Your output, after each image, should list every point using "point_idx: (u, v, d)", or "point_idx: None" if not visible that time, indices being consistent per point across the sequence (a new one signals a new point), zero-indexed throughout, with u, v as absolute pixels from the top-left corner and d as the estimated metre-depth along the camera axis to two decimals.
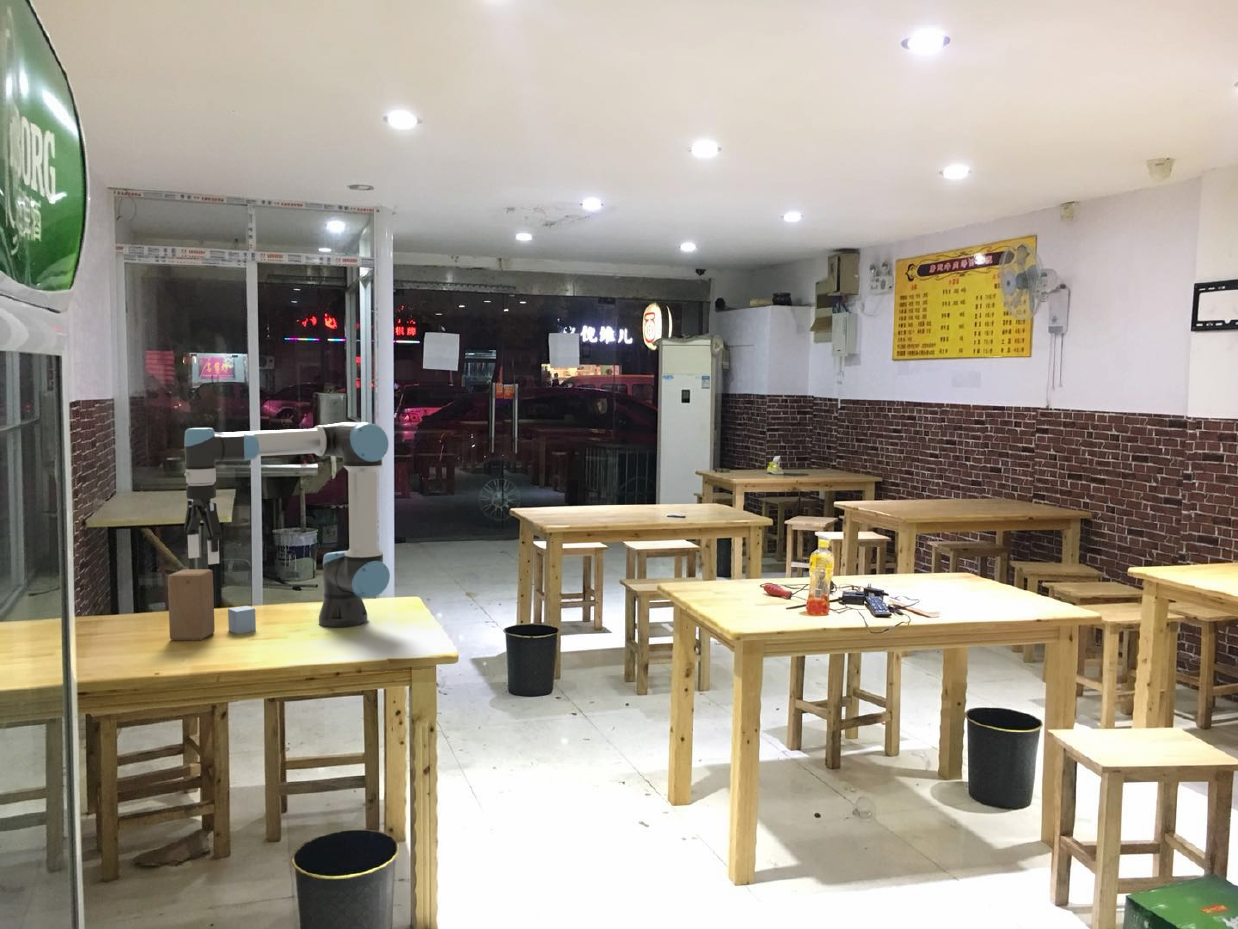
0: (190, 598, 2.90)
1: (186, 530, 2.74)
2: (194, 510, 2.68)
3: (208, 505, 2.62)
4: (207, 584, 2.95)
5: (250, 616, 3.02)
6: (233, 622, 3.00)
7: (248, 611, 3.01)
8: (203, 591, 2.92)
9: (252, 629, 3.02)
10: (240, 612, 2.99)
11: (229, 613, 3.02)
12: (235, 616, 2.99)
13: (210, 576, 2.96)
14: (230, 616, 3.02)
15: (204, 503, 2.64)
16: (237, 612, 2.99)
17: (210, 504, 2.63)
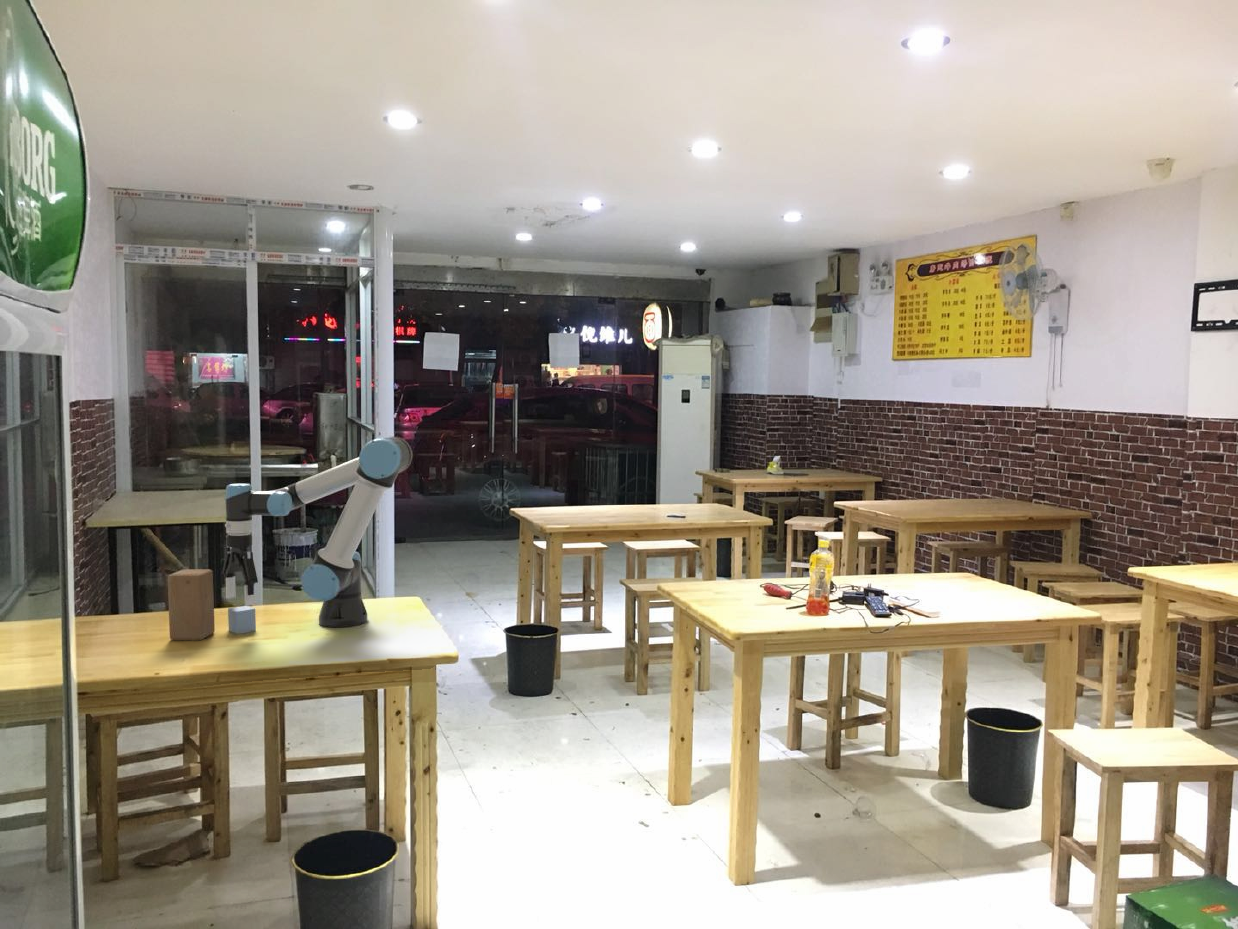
0: (190, 598, 2.90)
1: (224, 573, 3.08)
2: (232, 557, 3.01)
3: (245, 553, 2.96)
4: (207, 584, 2.95)
5: (250, 616, 3.02)
6: (233, 622, 3.00)
7: (248, 611, 3.01)
8: (203, 591, 2.92)
9: (252, 629, 3.02)
10: (240, 612, 2.99)
11: (229, 613, 3.02)
12: (235, 616, 2.99)
13: (210, 576, 2.96)
14: (230, 616, 3.02)
15: (242, 551, 2.98)
16: (237, 612, 2.99)
17: (247, 552, 2.96)
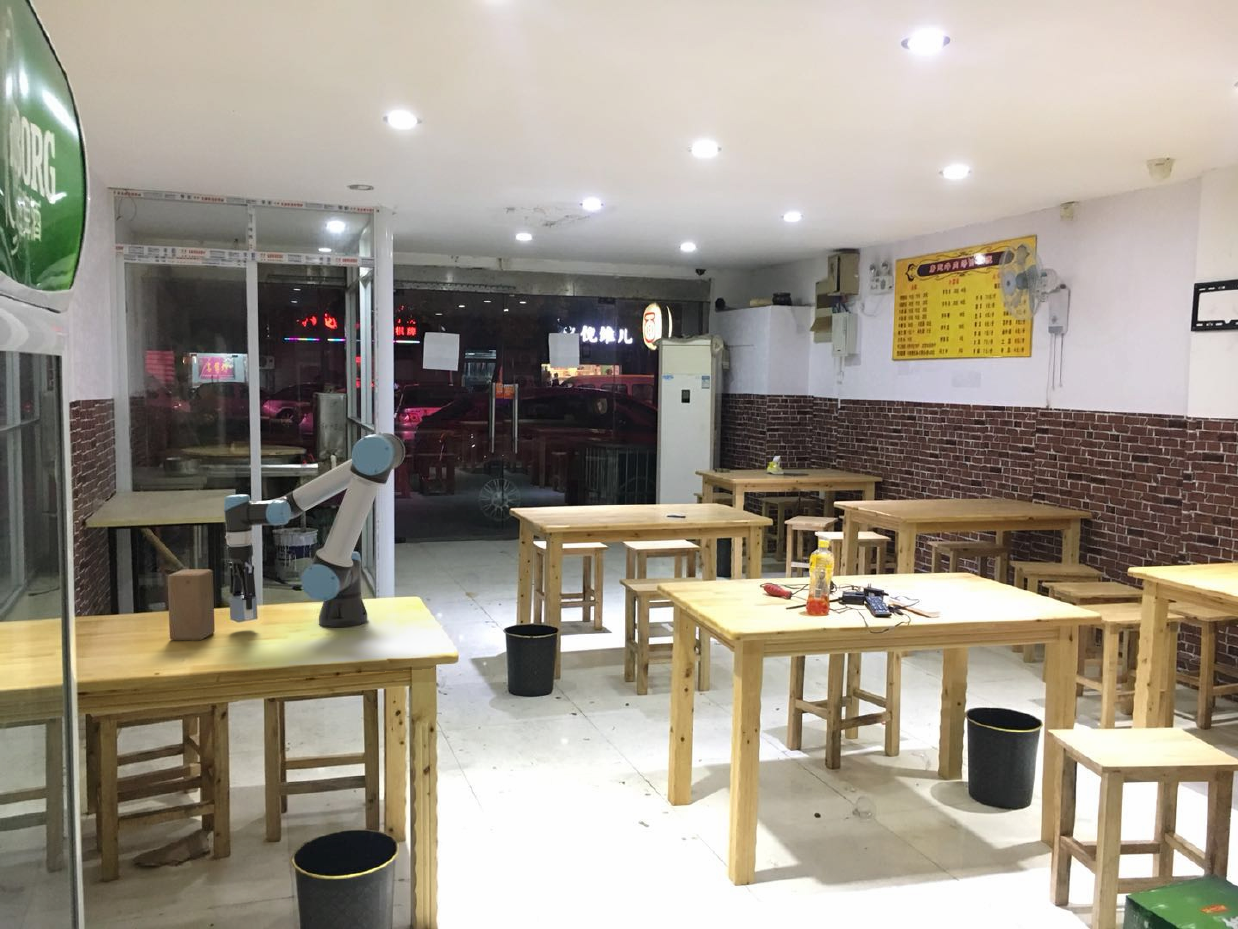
0: (190, 598, 2.90)
1: (232, 592, 3.06)
2: (234, 568, 3.01)
3: (247, 568, 2.96)
4: (207, 584, 2.95)
5: None
6: (235, 610, 3.00)
7: None
8: (203, 591, 2.92)
9: (254, 617, 3.02)
10: (241, 600, 2.99)
11: (230, 602, 3.02)
12: (237, 605, 2.99)
13: (210, 576, 2.96)
14: (231, 605, 3.01)
15: (243, 563, 2.98)
16: (238, 600, 2.98)
17: (249, 567, 2.97)
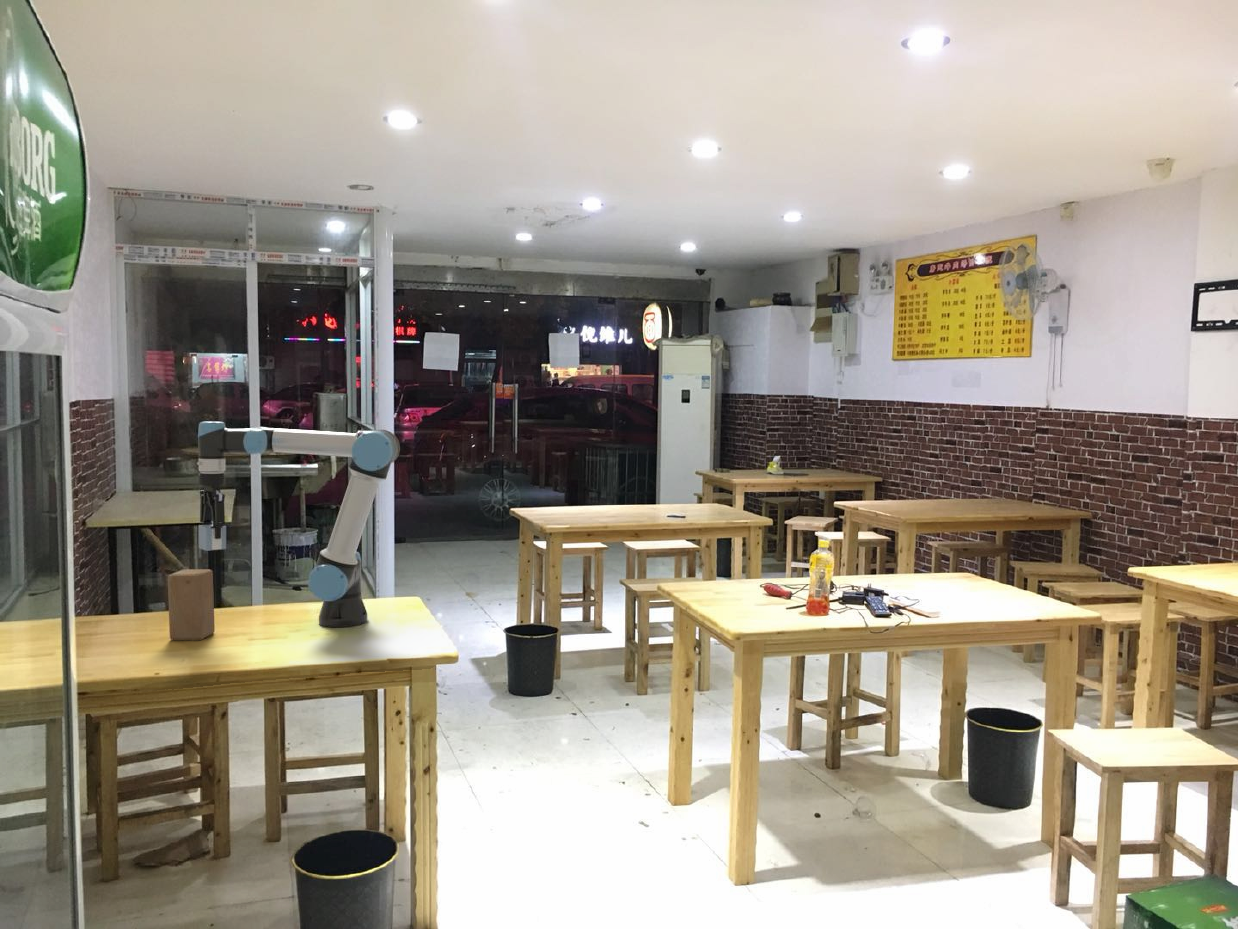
0: (190, 598, 2.90)
1: (202, 520, 3.00)
2: (205, 495, 2.96)
3: (217, 496, 2.91)
4: (207, 584, 2.95)
5: None
6: (203, 538, 2.95)
7: None
8: (203, 591, 2.92)
9: (222, 547, 2.97)
10: (210, 528, 2.94)
11: (199, 530, 2.96)
12: (205, 532, 2.93)
13: (210, 576, 2.96)
14: (200, 533, 2.96)
15: (214, 491, 2.93)
16: (207, 528, 2.93)
17: (219, 495, 2.91)
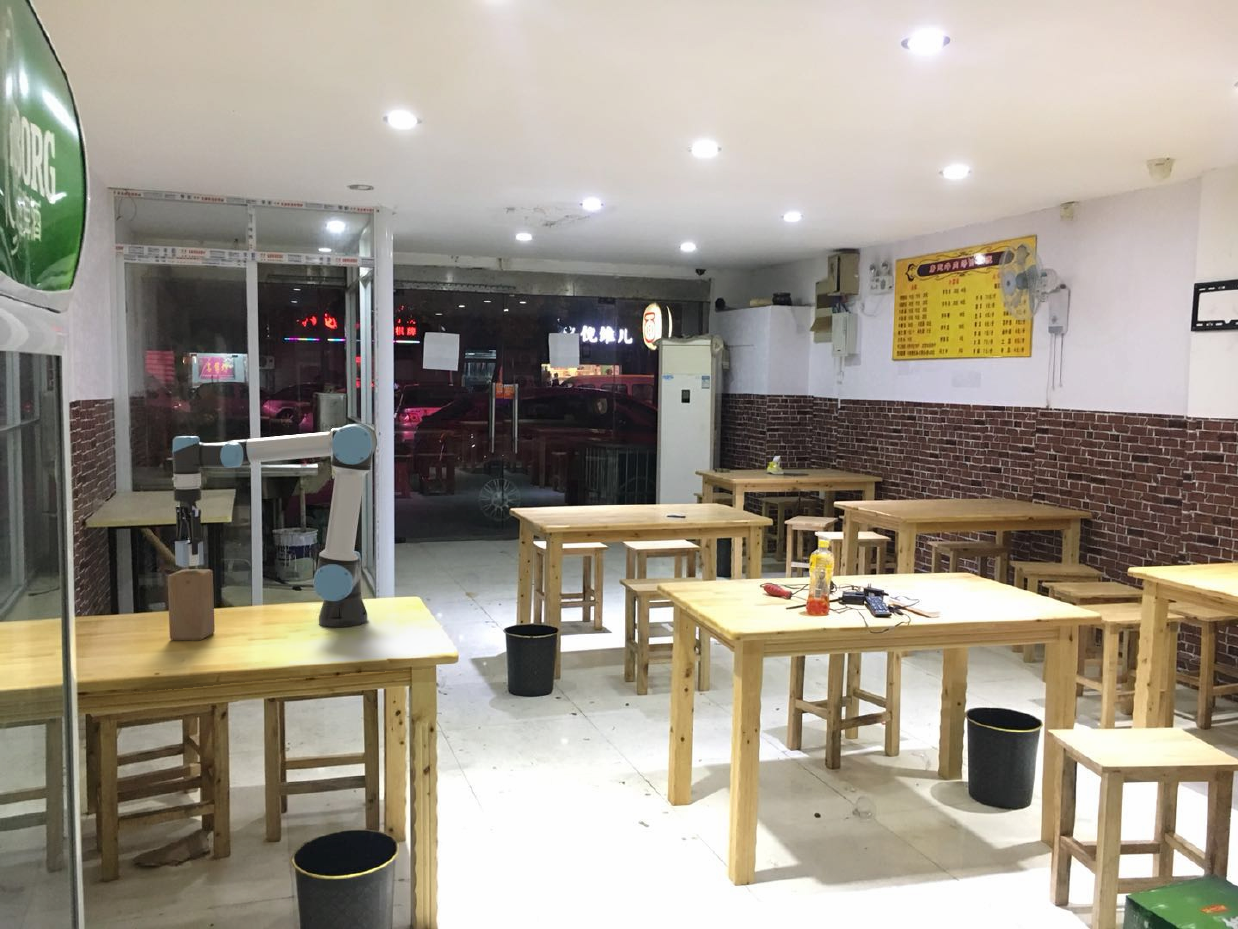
0: (190, 598, 2.90)
1: (178, 536, 2.97)
2: (181, 511, 2.92)
3: (193, 512, 2.87)
4: (207, 584, 2.95)
5: None
6: (180, 555, 2.91)
7: None
8: (203, 591, 2.92)
9: (200, 563, 2.93)
10: (187, 544, 2.90)
11: (176, 546, 2.93)
12: (182, 549, 2.89)
13: (210, 576, 2.96)
14: (177, 549, 2.92)
15: (190, 506, 2.89)
16: (184, 544, 2.89)
17: (195, 511, 2.88)
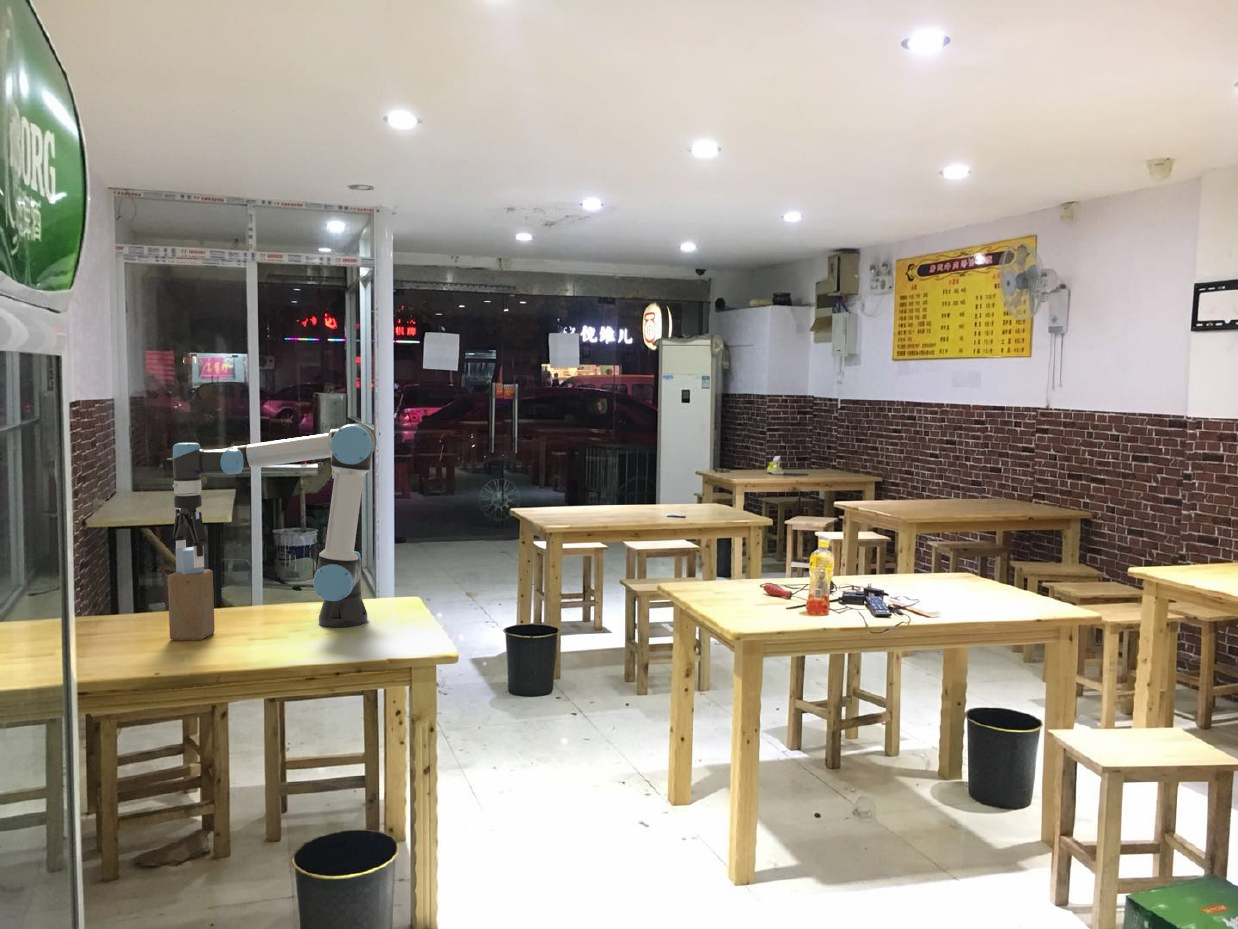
0: (190, 598, 2.90)
1: (174, 536, 2.99)
2: (181, 518, 2.93)
3: (194, 514, 2.87)
4: (207, 584, 2.95)
5: None
6: (180, 562, 2.91)
7: None
8: (203, 591, 2.92)
9: (200, 570, 2.93)
10: (187, 552, 2.90)
11: (176, 553, 2.93)
12: (182, 556, 2.90)
13: (210, 576, 2.96)
14: (177, 556, 2.92)
15: (190, 512, 2.89)
16: (184, 552, 2.90)
17: (196, 513, 2.88)
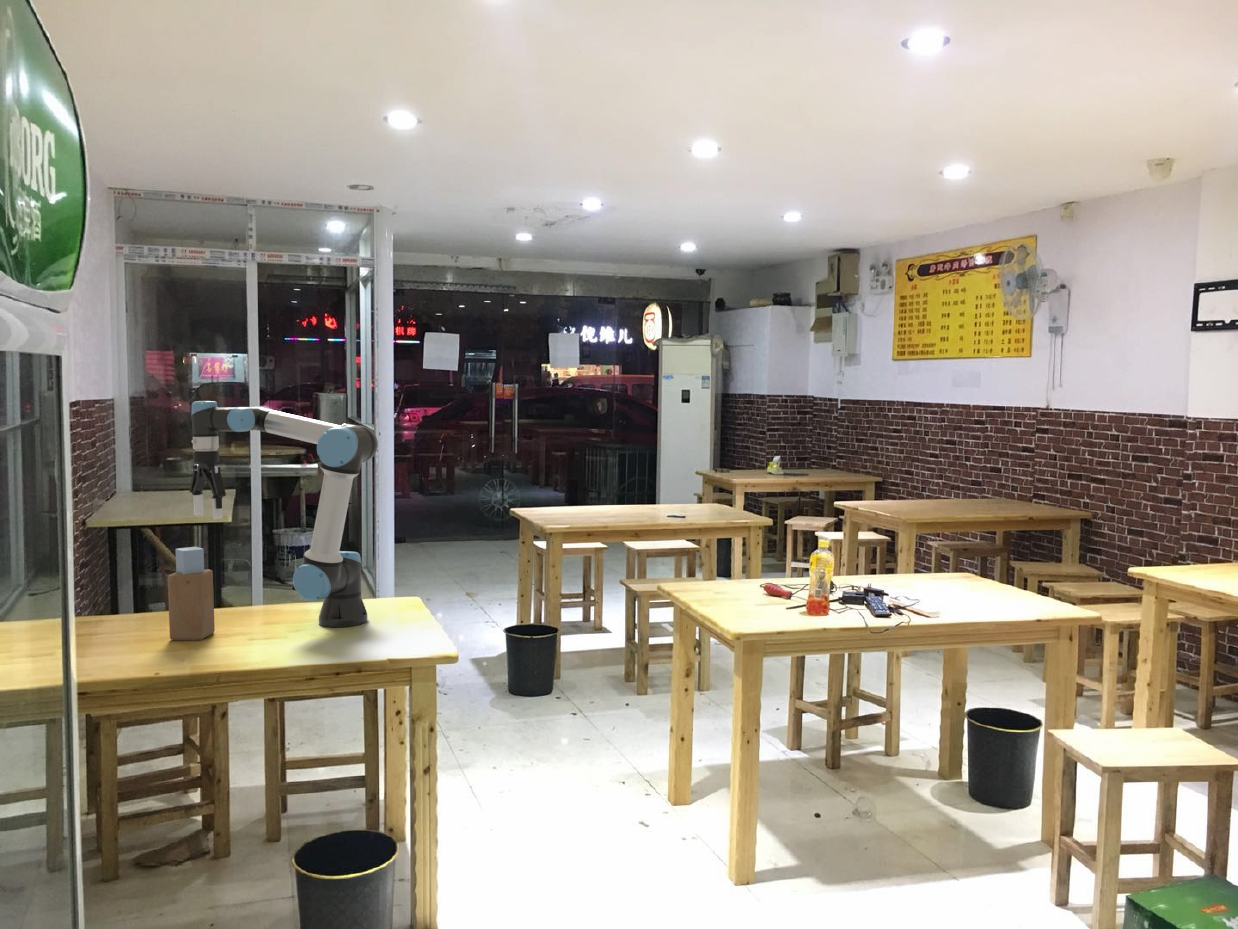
0: (190, 598, 2.90)
1: (192, 491, 3.13)
2: (200, 473, 3.06)
3: (213, 468, 3.01)
4: (207, 584, 2.95)
5: (198, 556, 2.92)
6: (180, 562, 2.91)
7: (196, 551, 2.92)
8: (203, 591, 2.92)
9: (200, 570, 2.93)
10: (187, 552, 2.90)
11: (176, 553, 2.93)
12: (182, 556, 2.90)
13: (210, 576, 2.96)
14: (177, 556, 2.92)
15: (209, 466, 3.03)
16: (184, 551, 2.90)
17: (215, 467, 3.02)
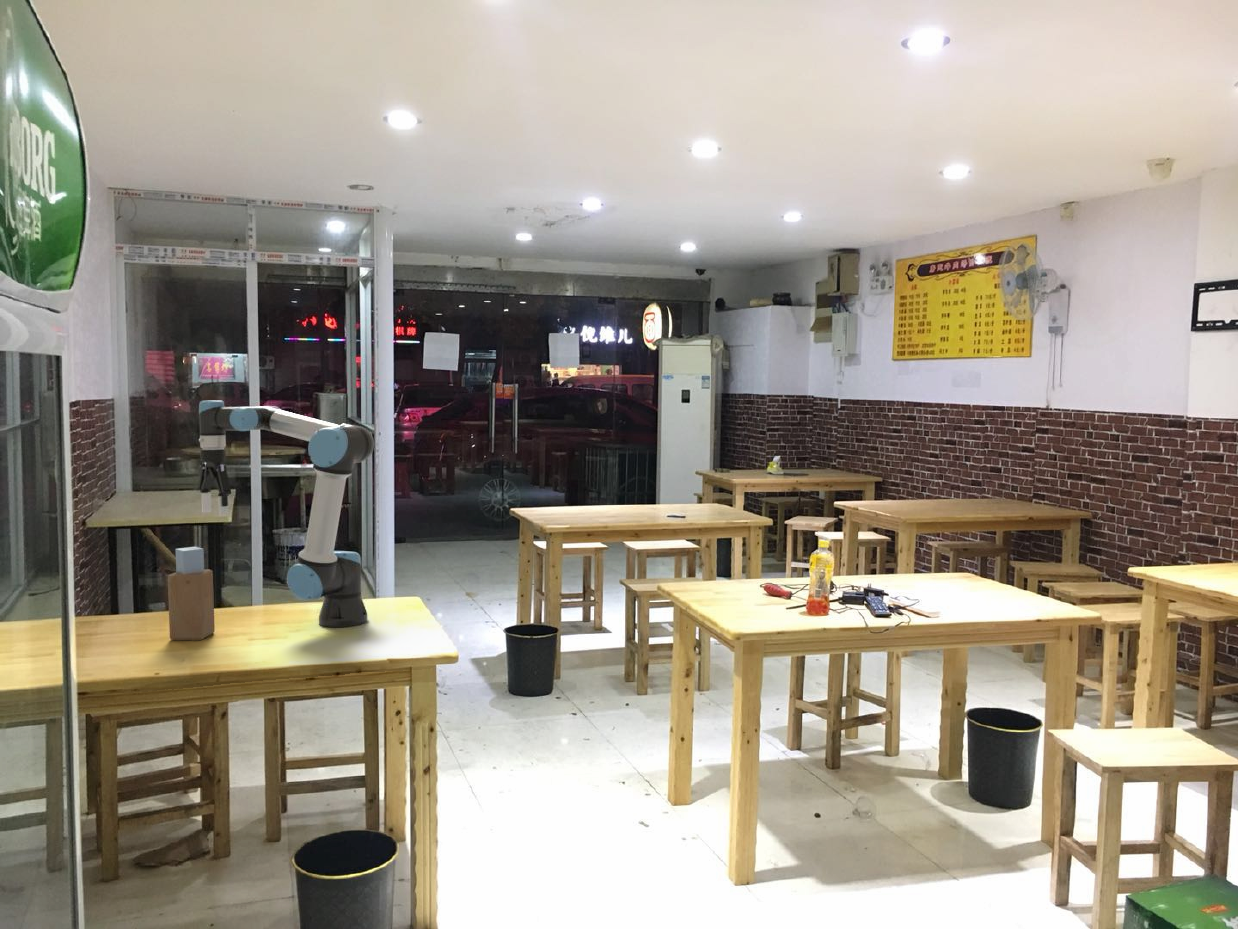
0: (190, 598, 2.90)
1: (200, 489, 3.19)
2: (207, 471, 3.12)
3: (219, 466, 3.07)
4: (207, 584, 2.95)
5: (198, 556, 2.92)
6: (180, 562, 2.91)
7: (196, 551, 2.92)
8: (203, 591, 2.92)
9: (200, 570, 2.93)
10: (187, 552, 2.90)
11: (176, 553, 2.93)
12: (182, 556, 2.90)
13: (210, 576, 2.96)
14: (177, 556, 2.92)
15: (215, 464, 3.09)
16: (184, 551, 2.90)
17: (221, 465, 3.07)
